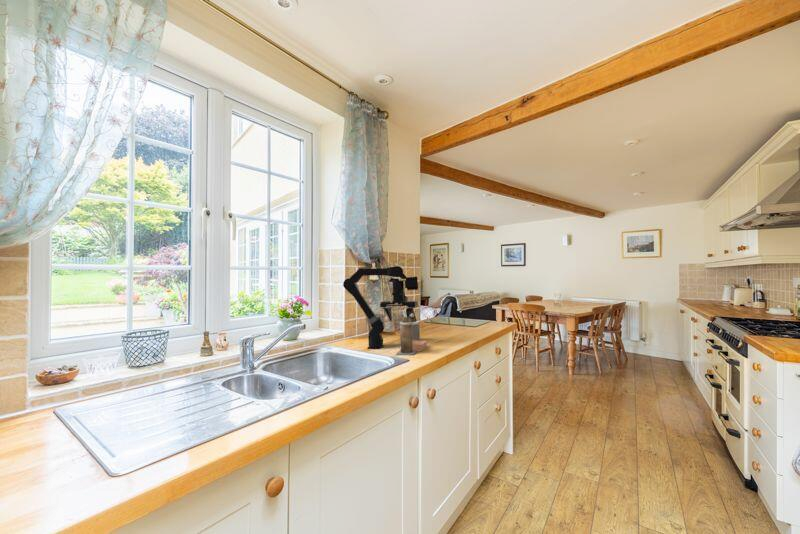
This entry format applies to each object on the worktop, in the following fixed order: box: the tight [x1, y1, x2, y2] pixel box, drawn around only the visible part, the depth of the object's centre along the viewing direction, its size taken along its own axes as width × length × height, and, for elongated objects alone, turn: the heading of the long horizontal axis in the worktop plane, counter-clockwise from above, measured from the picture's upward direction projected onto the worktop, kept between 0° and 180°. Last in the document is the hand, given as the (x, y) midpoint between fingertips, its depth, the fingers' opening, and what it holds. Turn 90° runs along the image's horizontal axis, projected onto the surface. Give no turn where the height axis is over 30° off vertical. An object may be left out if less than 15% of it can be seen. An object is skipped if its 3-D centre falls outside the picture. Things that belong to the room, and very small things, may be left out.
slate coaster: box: [396, 349, 418, 356], centre depth 157 cm, size 8×8×1 cm
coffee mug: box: [411, 321, 421, 341], centre depth 184 cm, size 13×10×10 cm
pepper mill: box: [399, 316, 413, 353], centre depth 158 cm, size 6×6×16 cm
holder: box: [412, 340, 428, 352], centre depth 166 cm, size 9×9×3 cm
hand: (399, 321), depth 171 cm, fingers open, 9 cm apart
